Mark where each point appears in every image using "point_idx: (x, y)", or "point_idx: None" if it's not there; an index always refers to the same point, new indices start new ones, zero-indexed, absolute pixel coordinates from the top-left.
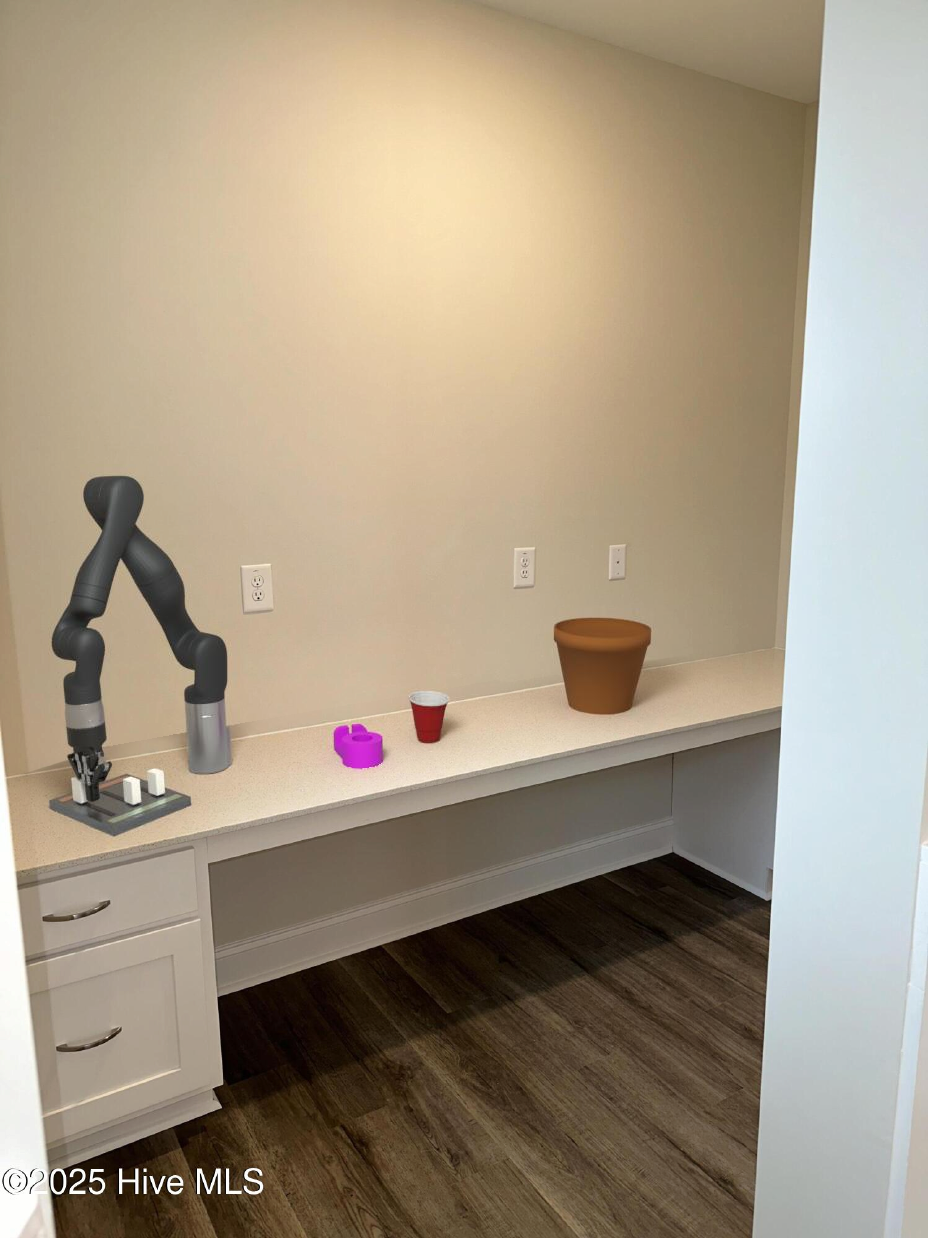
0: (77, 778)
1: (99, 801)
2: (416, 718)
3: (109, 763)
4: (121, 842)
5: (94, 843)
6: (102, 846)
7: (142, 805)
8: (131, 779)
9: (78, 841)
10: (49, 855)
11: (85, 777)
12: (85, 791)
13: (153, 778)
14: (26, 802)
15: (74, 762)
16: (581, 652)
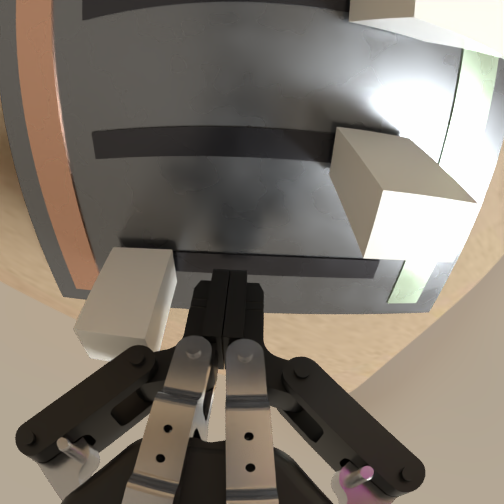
0: (110, 354)
1: (198, 219)
2: None
3: (416, 485)
4: (453, 295)
5: (393, 327)
6: (421, 325)
7: (424, 150)
8: (427, 230)
9: (347, 339)
10: (338, 381)
11: (210, 404)
12: (162, 299)
13: (464, 43)
14: (6, 277)
15: (99, 448)
16: None
